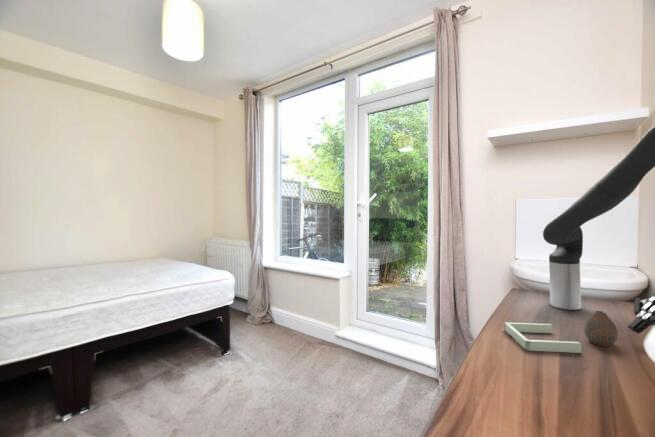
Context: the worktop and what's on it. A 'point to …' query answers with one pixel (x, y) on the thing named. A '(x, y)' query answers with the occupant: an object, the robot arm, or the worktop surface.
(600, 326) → the vase
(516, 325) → the bay
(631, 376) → the worktop surface
